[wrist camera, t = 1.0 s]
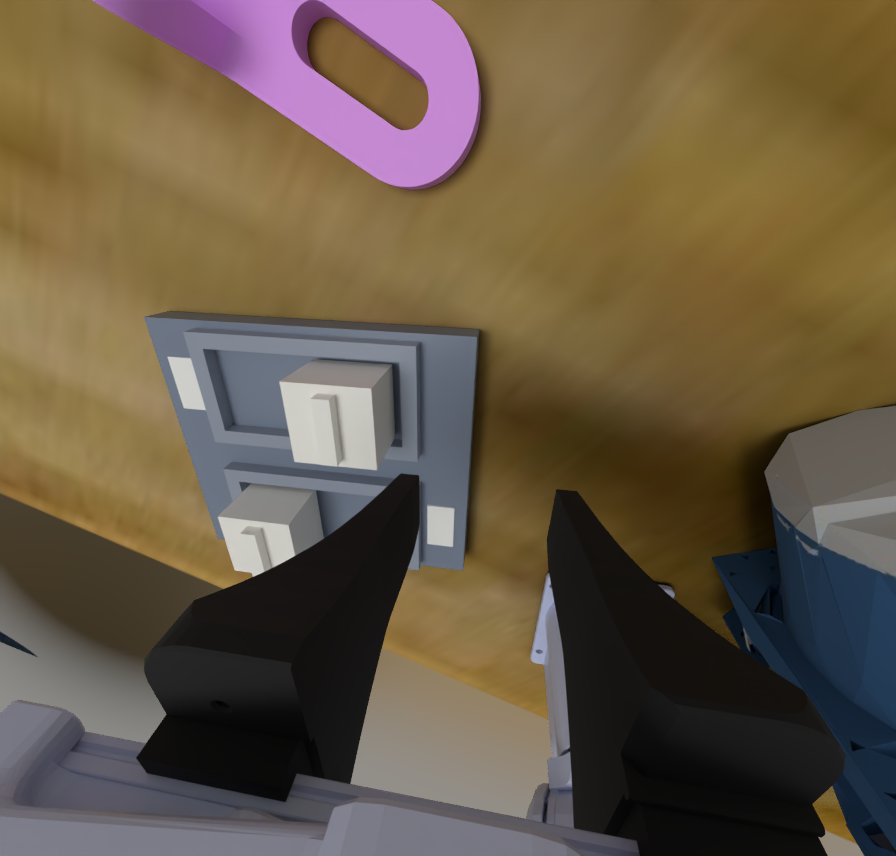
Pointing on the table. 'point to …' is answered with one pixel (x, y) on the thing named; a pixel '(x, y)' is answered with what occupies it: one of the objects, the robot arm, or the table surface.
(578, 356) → the table surface
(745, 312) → the table surface
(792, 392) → the table surface
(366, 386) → the near tab
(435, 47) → the bracket
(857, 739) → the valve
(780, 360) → the table surface
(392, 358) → the switch bank
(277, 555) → the far tab
